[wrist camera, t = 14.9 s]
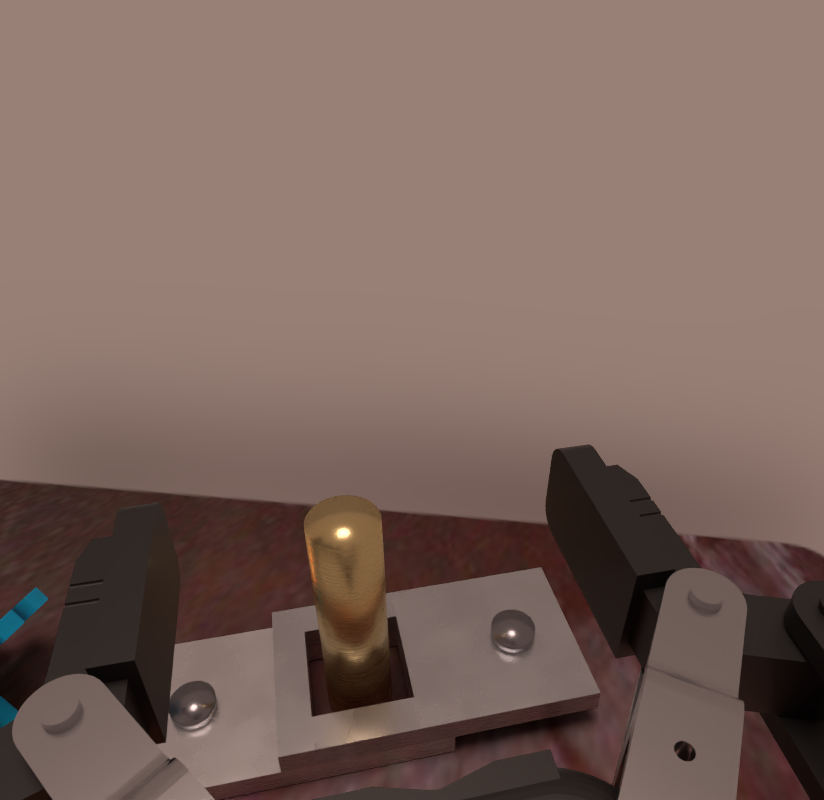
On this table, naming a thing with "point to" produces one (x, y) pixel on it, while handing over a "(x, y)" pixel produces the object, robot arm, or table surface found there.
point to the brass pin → (350, 600)
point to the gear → (5, 627)
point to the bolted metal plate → (382, 723)
